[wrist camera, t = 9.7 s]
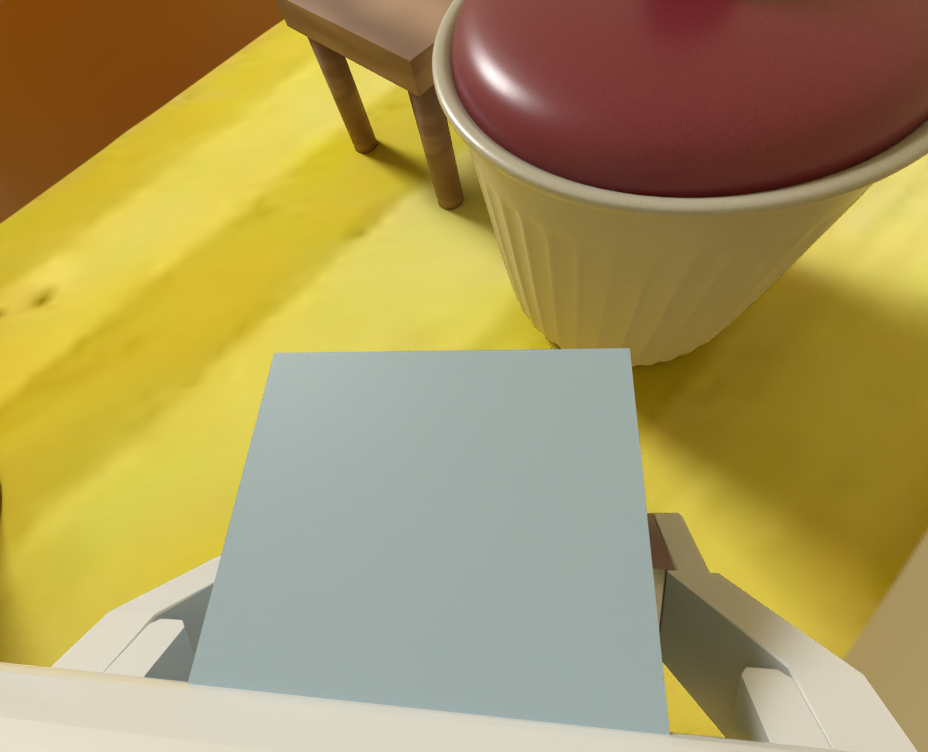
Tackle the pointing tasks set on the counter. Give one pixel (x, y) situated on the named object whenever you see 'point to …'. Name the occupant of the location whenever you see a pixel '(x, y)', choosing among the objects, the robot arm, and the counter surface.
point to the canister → (674, 148)
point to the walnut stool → (383, 68)
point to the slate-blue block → (444, 539)
